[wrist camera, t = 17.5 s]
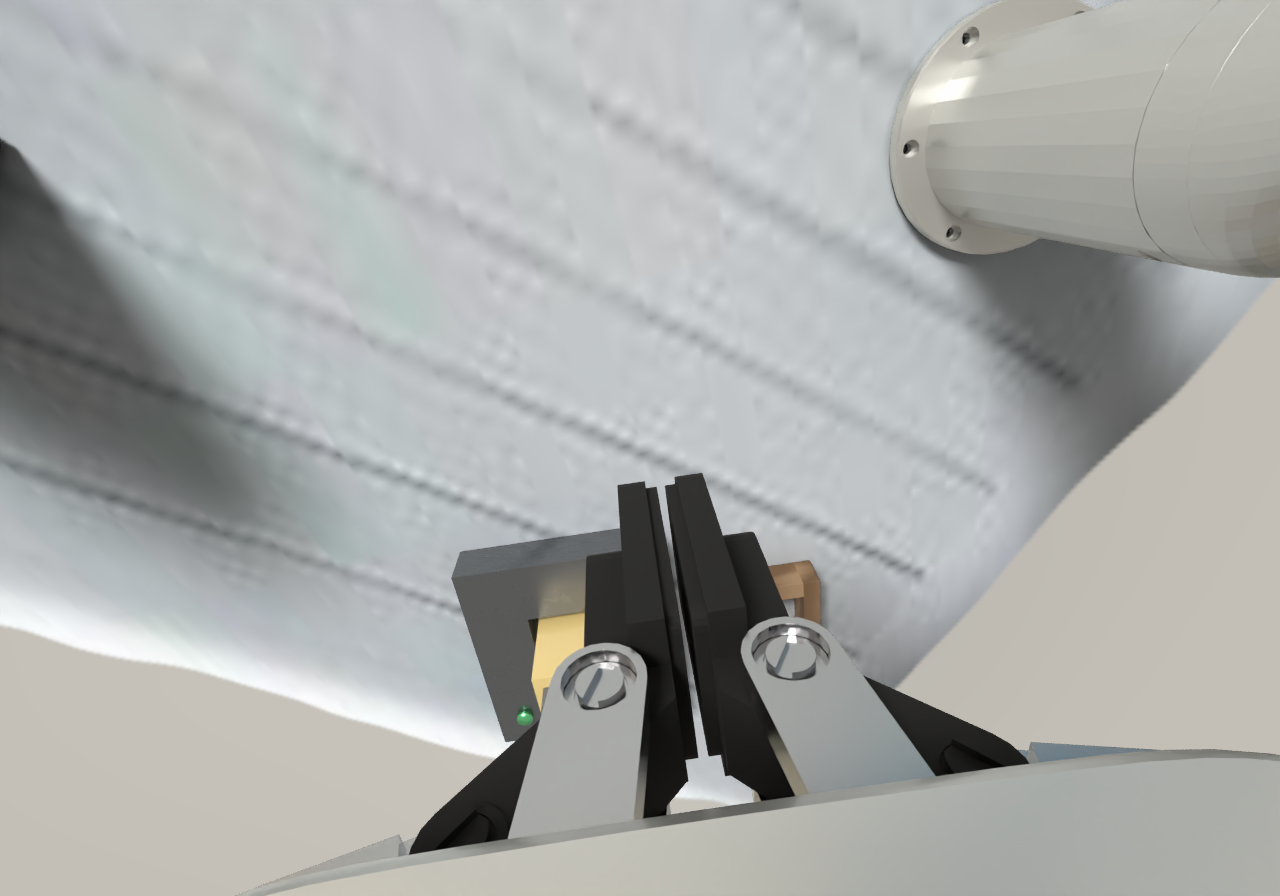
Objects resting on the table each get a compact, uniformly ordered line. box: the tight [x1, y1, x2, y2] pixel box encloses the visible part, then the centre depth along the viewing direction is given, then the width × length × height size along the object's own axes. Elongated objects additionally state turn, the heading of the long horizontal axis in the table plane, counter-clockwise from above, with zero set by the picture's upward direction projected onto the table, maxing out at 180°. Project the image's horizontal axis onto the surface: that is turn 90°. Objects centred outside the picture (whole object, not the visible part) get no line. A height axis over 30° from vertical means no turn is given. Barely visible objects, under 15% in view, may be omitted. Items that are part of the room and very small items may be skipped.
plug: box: [531, 611, 585, 715], centre depth 43 cm, size 4×6×10 cm
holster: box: [768, 560, 820, 625], centre depth 47 cm, size 8×10×2 cm
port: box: [452, 529, 622, 742], centre depth 46 cm, size 14×16×3 cm
